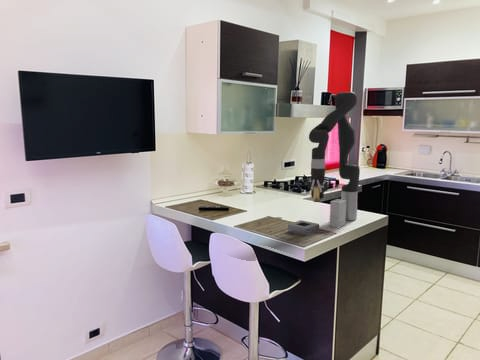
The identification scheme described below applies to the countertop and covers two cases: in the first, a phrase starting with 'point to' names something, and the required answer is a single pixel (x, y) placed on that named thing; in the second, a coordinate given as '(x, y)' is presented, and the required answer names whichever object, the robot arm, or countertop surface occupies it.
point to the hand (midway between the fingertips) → (317, 198)
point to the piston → (316, 194)
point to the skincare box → (337, 213)
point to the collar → (303, 228)
